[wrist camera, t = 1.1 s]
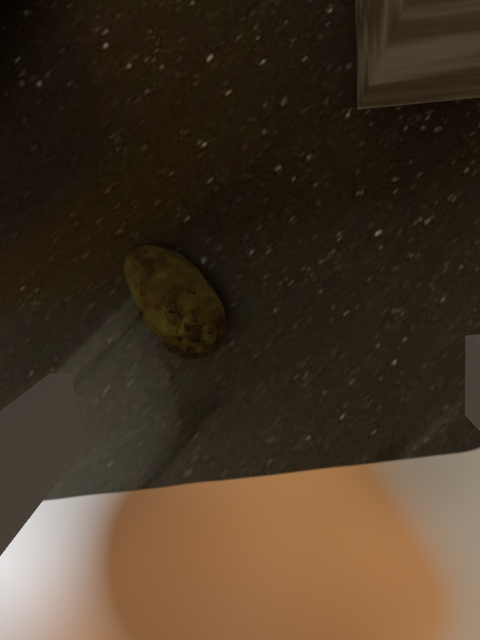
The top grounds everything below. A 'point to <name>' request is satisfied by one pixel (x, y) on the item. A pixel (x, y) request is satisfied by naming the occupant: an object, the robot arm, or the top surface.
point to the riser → (417, 51)
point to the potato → (175, 301)
